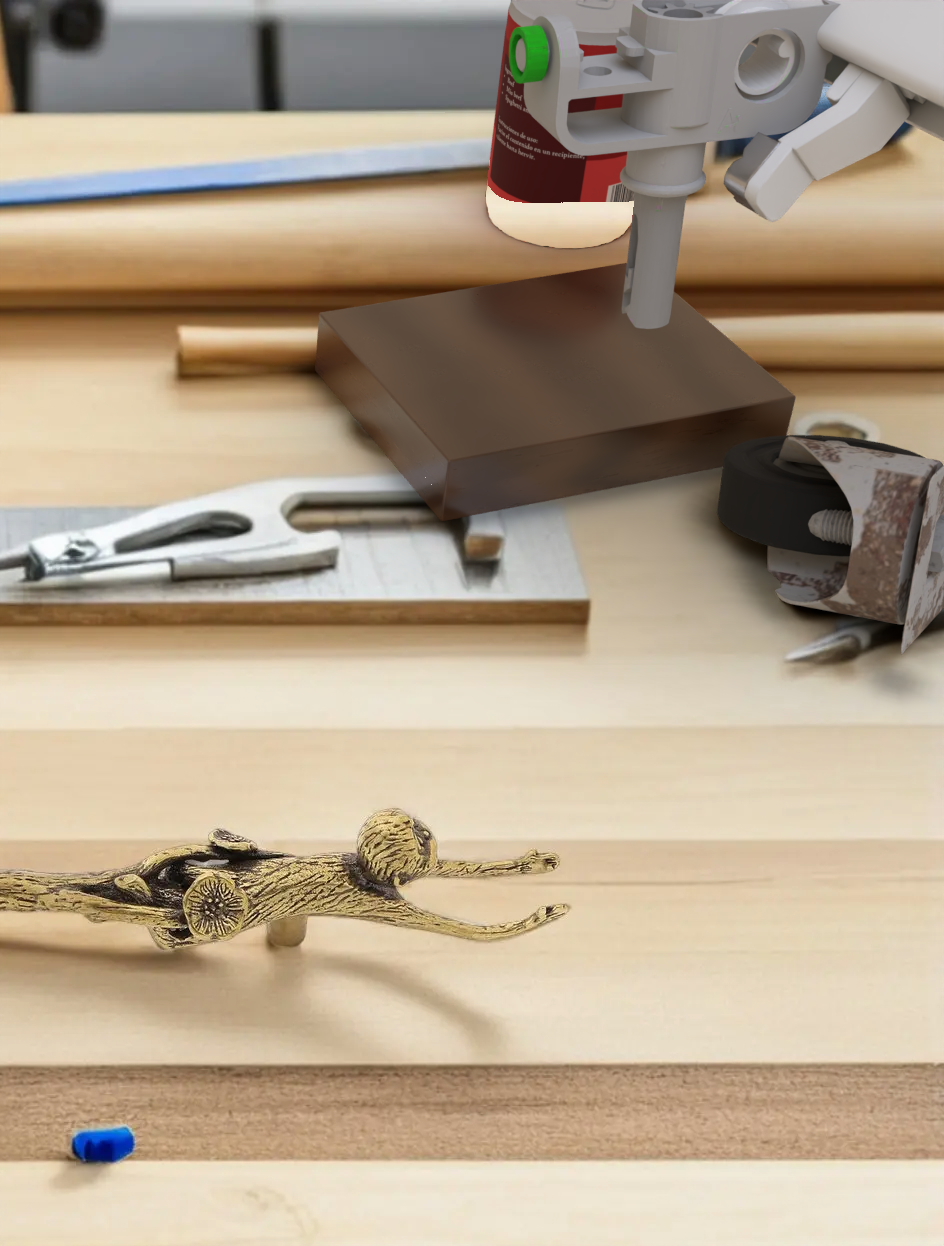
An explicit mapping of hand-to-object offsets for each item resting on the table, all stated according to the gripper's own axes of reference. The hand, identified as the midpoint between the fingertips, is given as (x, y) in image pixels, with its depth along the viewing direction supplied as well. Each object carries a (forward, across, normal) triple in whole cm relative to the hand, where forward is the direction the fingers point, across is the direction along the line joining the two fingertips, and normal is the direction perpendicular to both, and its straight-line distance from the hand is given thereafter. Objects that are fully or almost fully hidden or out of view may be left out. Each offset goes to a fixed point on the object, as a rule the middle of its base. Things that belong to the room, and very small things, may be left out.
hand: (694, 174), depth 65 cm
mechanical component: (+4, 0, +3) cm, 5 cm away
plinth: (+7, -15, +20) cm, 26 cm away
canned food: (-2, -30, +30) cm, 42 cm away
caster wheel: (+5, 0, +22) cm, 23 cm away
